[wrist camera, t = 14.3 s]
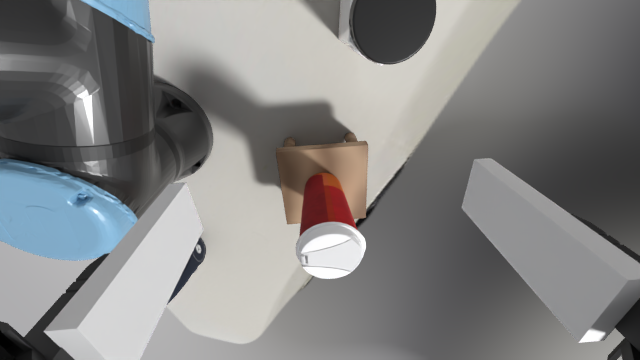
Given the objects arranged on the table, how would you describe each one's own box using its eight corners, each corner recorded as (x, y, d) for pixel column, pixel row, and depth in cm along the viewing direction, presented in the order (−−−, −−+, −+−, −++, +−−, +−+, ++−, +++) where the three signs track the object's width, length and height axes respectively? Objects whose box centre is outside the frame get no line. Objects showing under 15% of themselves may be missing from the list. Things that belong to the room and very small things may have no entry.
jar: (323, 30, 36) (331, 33, 25) (358, -34, 32) (384, -62, 22) (375, 67, 39) (402, 82, 28) (412, 11, 35) (458, 5, 25)
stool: (289, 200, 49) (287, 224, 43) (279, 134, 43) (275, 152, 37) (358, 194, 50) (365, 217, 44) (359, 128, 43) (368, 145, 37)
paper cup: (300, 210, 42) (298, 284, 30) (295, 168, 38) (291, 233, 26) (348, 206, 42) (367, 278, 30) (348, 163, 38) (369, 227, 26)
